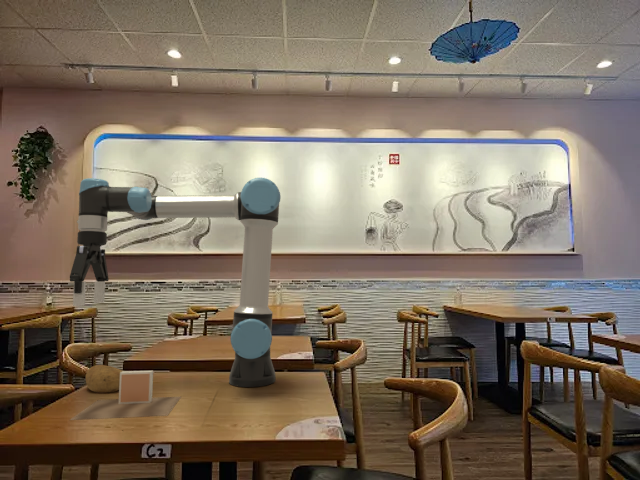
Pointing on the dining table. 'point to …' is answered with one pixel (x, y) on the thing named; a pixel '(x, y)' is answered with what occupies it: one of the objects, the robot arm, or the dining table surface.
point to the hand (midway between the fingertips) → (89, 304)
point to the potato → (103, 378)
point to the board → (127, 409)
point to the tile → (135, 387)
